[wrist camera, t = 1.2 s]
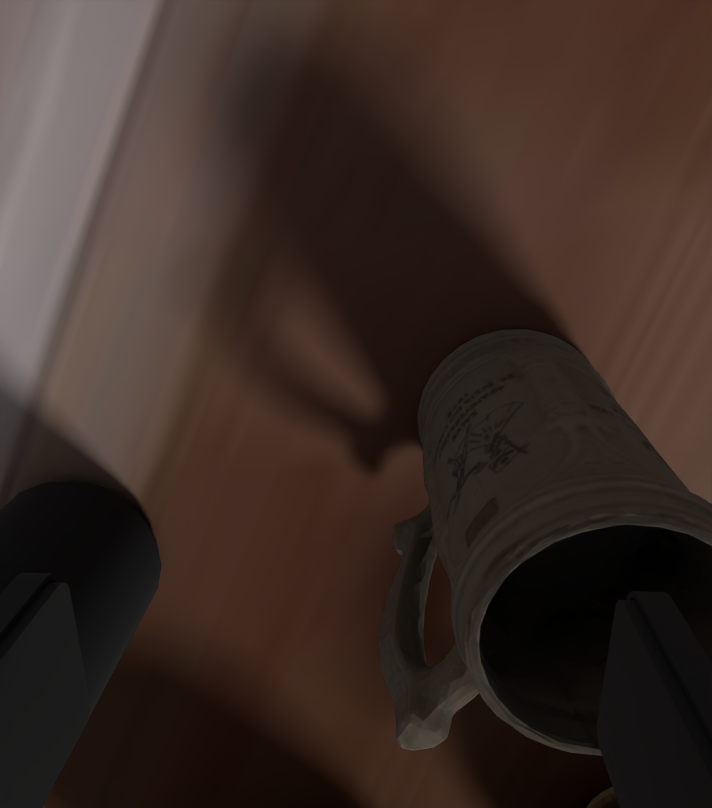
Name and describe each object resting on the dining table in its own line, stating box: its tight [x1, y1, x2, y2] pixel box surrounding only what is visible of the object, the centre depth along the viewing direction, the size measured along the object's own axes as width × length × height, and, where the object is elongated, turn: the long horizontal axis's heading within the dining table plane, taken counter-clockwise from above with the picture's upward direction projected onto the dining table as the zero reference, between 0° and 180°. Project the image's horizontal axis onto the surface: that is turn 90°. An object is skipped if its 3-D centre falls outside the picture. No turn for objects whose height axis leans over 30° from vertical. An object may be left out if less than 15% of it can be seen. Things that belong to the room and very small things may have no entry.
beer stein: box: [378, 329, 712, 756], centre depth 31 cm, size 15×11×20 cm
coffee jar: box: [0, 481, 161, 719], centre depth 35 cm, size 11×11×18 cm
